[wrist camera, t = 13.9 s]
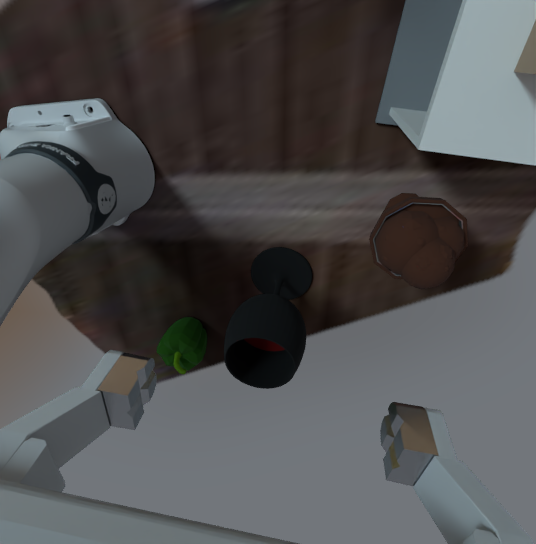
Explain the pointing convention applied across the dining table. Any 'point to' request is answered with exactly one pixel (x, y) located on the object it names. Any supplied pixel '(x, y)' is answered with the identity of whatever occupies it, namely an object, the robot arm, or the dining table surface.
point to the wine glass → (269, 322)
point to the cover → (483, 87)
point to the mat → (417, 55)
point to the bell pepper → (183, 344)
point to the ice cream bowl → (419, 240)
